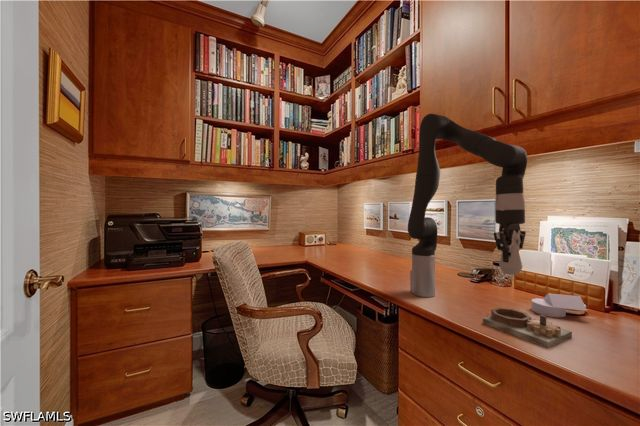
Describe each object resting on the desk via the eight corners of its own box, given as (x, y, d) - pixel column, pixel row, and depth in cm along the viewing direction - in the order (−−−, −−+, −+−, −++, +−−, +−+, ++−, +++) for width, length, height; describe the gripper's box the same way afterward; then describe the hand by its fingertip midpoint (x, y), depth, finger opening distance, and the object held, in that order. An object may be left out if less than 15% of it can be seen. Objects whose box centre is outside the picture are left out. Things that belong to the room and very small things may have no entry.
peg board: (482, 323, 82) (482, 305, 82) (506, 315, 88) (506, 298, 88) (548, 347, 67) (548, 326, 67) (571, 336, 73) (571, 316, 73)
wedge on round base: (573, 311, 91) (528, 306, 97) (573, 292, 91) (528, 288, 97) (587, 321, 83) (536, 314, 88) (587, 300, 83) (536, 295, 88)
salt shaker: (520, 276, 77) (519, 232, 77) (497, 273, 81) (496, 232, 81) (524, 273, 81) (523, 231, 81) (502, 270, 85) (501, 231, 85)
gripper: (509, 208, 88) (510, 259, 87) (483, 209, 81) (484, 263, 81) (535, 208, 81) (536, 263, 81) (510, 208, 75) (511, 268, 74)
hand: (510, 263), depth 81 cm, fingers closed on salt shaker, 3 cm apart
